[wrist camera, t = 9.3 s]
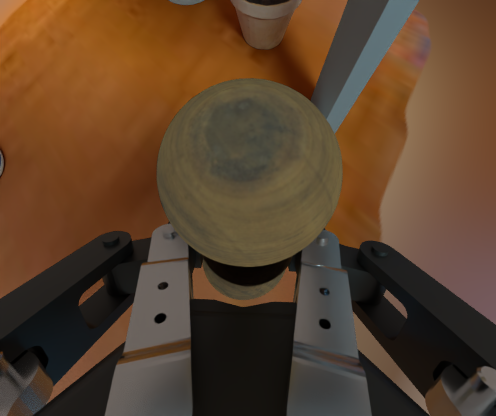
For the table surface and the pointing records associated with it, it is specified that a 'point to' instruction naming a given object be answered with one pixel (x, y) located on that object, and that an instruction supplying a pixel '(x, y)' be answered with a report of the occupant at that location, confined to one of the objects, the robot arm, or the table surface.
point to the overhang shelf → (357, 53)
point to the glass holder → (186, 2)
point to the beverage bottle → (1, 163)
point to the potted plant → (264, 20)
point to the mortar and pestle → (248, 180)
